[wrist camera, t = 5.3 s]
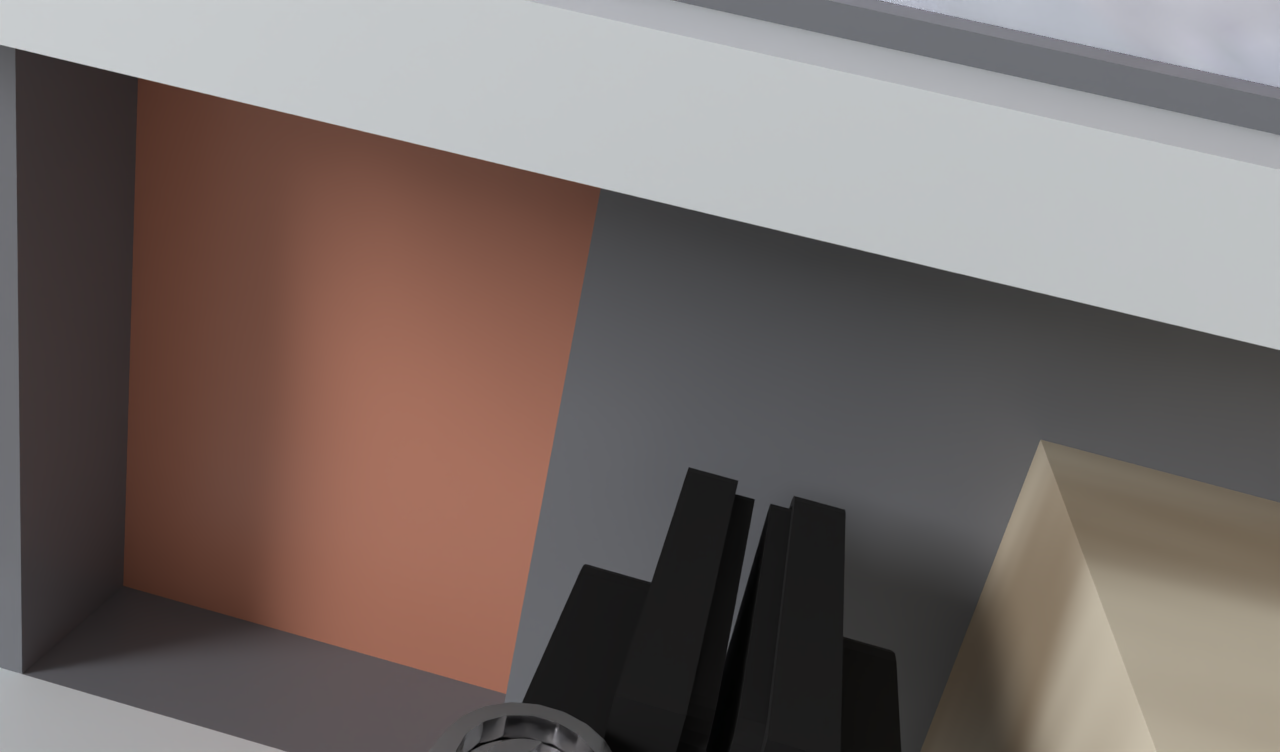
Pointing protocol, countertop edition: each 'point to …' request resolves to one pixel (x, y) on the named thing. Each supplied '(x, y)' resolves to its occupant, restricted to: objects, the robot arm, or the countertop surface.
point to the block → (1121, 619)
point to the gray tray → (569, 330)
